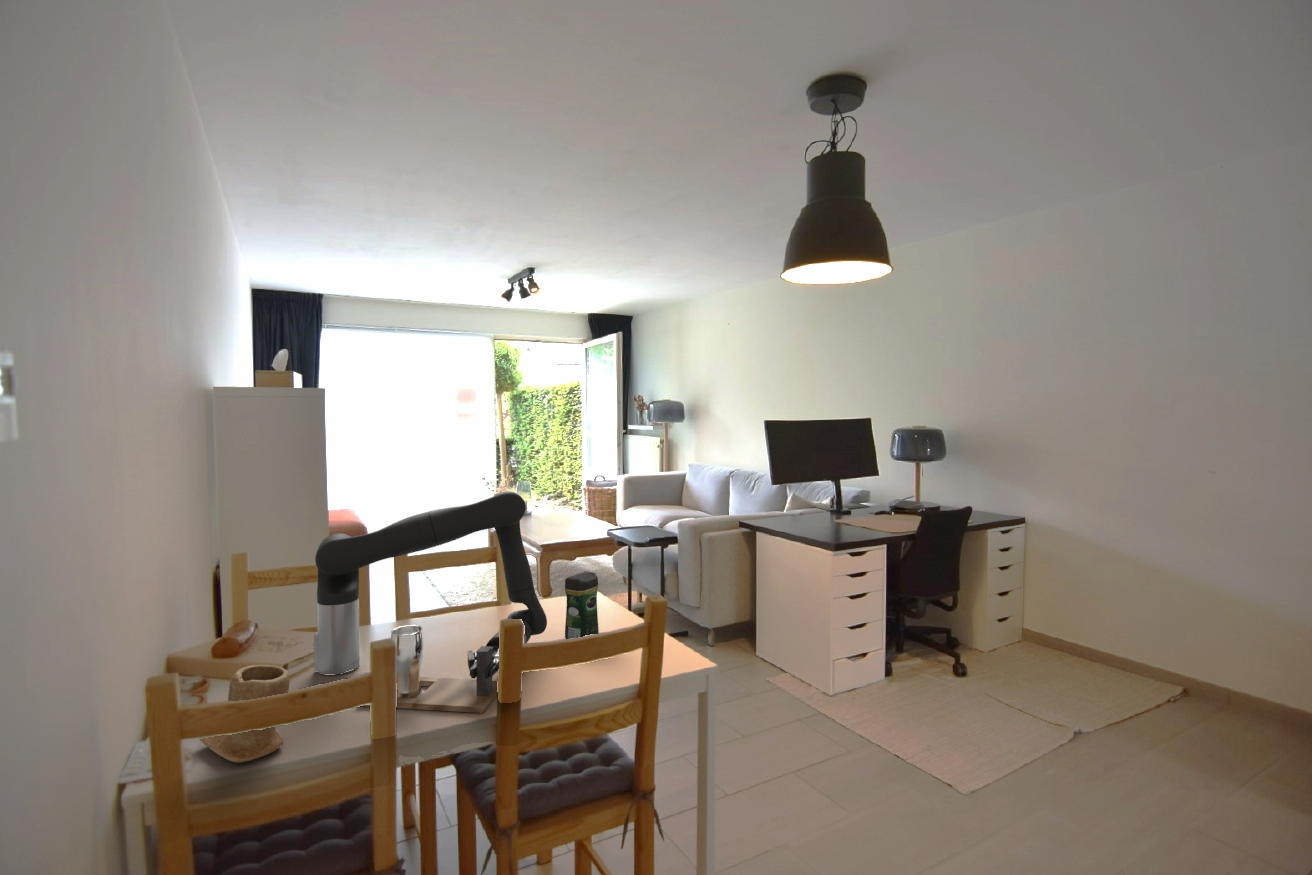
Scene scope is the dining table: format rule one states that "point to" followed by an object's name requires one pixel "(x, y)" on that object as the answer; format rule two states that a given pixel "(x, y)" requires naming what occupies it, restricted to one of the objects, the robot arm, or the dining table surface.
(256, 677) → the stone cup
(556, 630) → the dining table surface
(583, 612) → the coffee jar
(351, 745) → the dining table surface
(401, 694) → the beer glass
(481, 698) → the board with upright block
